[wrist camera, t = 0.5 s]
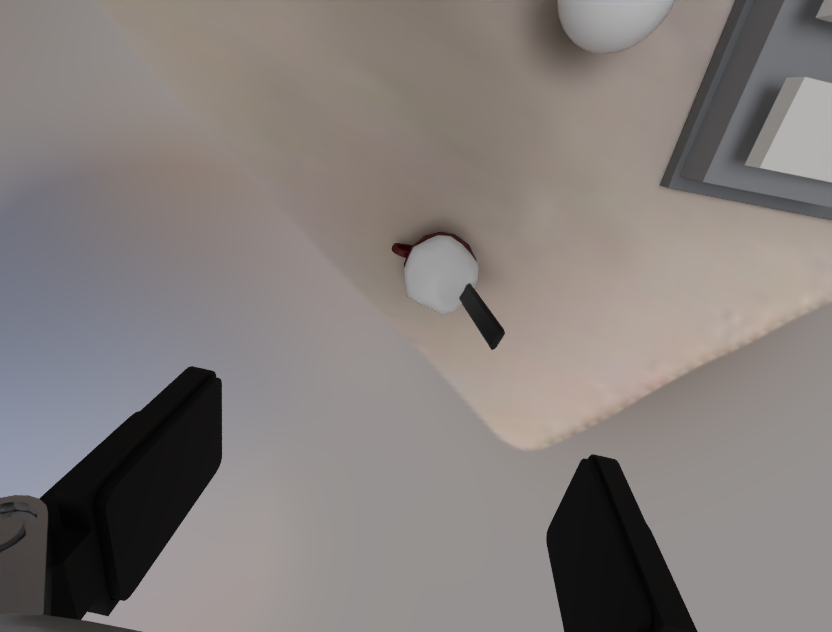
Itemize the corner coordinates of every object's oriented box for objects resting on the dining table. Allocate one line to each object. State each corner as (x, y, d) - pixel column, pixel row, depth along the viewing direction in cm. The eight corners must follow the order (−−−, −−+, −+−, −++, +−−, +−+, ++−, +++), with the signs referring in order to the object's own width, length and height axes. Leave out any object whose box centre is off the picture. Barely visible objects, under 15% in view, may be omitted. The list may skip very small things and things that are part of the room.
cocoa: (388, 246, 40) (351, 293, 29) (437, 200, 38) (417, 231, 27) (456, 318, 42) (445, 386, 31) (507, 278, 39) (514, 336, 29)
